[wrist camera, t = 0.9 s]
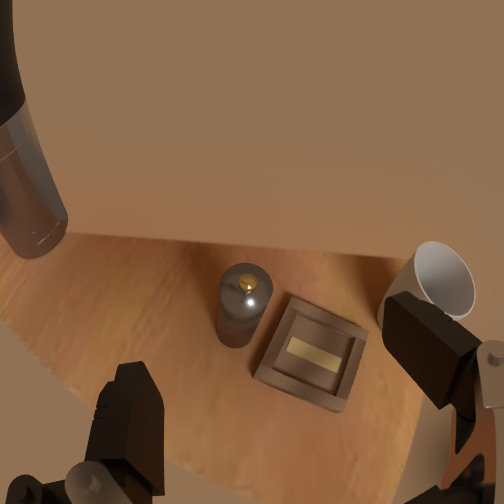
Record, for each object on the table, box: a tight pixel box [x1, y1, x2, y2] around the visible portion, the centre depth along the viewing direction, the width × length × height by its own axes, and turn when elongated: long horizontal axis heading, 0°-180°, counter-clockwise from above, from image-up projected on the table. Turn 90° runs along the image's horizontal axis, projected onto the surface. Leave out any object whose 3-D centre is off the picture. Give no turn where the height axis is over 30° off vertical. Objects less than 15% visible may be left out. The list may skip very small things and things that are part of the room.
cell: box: [216, 263, 273, 348], centre depth 24 cm, size 4×4×10 cm
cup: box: [377, 241, 476, 331], centre depth 27 cm, size 8×8×10 cm
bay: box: [252, 296, 369, 413], centre depth 27 cm, size 9×9×1 cm
